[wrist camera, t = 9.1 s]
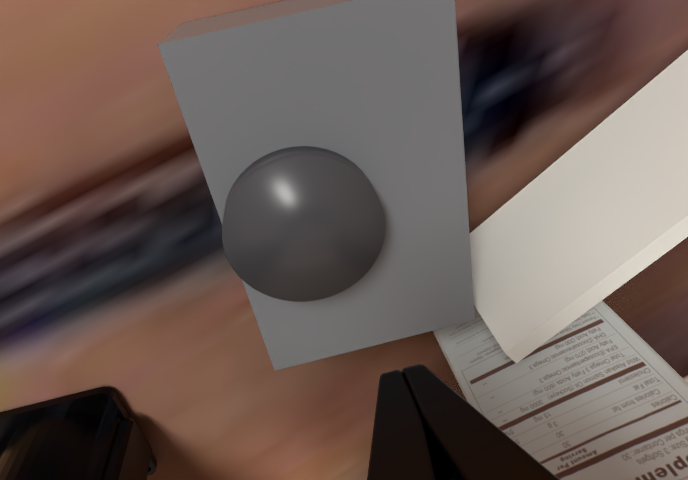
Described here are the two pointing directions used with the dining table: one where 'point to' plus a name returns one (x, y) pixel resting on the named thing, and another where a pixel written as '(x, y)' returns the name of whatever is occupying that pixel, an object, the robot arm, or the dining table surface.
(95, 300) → the dining table surface
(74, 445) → the robot arm
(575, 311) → the side door
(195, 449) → the dining table surface
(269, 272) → the camera case
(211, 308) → the dining table surface
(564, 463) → the supplement box
